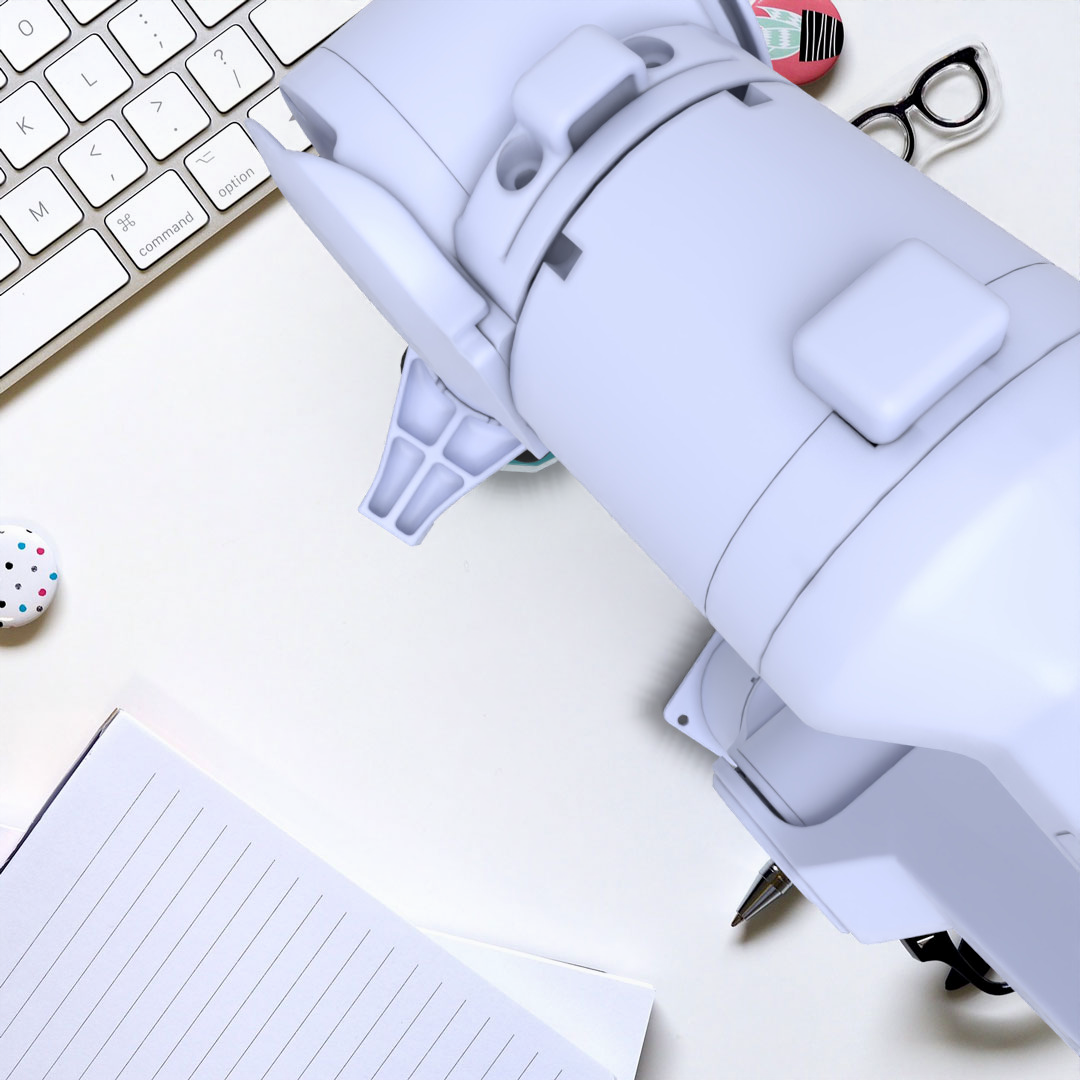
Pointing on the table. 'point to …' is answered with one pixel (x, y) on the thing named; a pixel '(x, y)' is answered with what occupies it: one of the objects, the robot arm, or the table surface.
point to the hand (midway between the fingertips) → (519, 371)
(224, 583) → the table surface
